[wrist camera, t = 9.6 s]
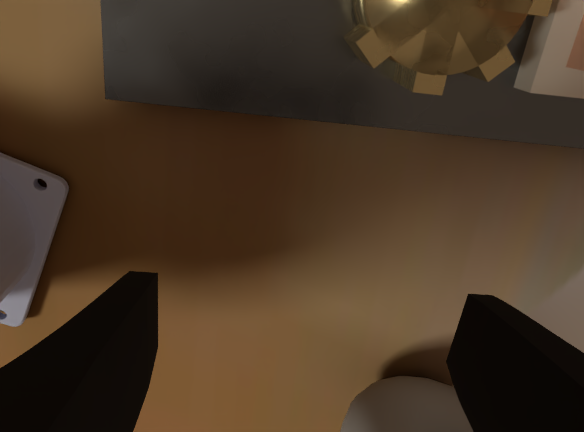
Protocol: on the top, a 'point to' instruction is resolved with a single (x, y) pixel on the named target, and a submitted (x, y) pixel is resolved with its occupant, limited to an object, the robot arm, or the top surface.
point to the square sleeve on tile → (555, 52)
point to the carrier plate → (340, 63)
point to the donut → (406, 407)
